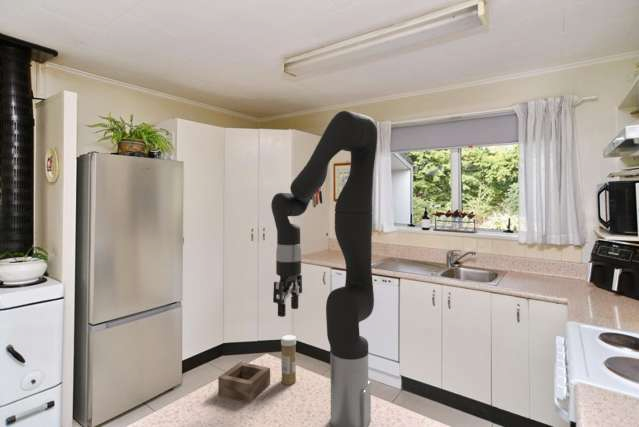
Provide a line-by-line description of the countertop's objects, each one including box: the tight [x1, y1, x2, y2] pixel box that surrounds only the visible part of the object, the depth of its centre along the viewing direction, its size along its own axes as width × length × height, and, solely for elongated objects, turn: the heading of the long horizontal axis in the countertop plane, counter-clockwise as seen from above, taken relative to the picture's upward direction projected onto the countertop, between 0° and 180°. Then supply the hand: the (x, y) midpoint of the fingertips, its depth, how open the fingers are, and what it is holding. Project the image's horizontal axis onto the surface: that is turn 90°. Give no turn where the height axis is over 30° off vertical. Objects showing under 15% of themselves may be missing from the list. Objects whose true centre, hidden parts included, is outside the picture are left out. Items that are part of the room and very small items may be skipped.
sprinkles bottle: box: [280, 334, 297, 386], centre depth 102 cm, size 5×5×14 cm
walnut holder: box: [217, 361, 271, 404], centre depth 97 cm, size 10×10×5 cm
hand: (288, 312), depth 102 cm, fingers open, 8 cm apart
